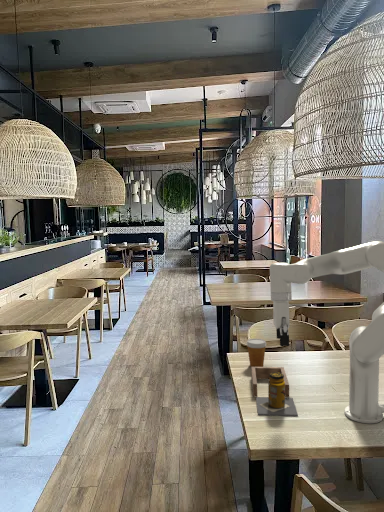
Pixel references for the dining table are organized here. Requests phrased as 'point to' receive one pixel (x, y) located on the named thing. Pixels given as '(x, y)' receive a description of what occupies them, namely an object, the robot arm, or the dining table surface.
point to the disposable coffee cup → (256, 352)
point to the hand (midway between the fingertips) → (282, 341)
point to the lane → (267, 377)
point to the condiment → (275, 393)
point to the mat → (283, 412)
